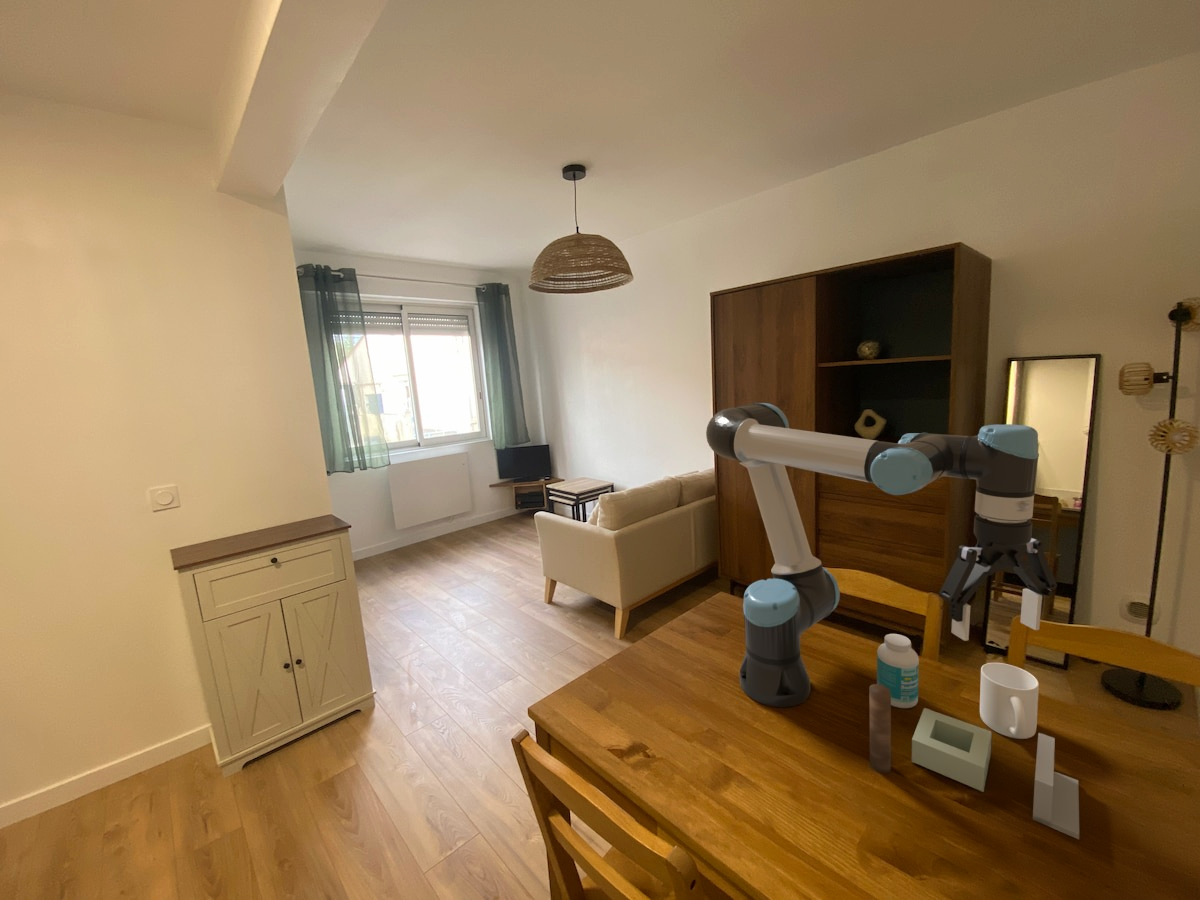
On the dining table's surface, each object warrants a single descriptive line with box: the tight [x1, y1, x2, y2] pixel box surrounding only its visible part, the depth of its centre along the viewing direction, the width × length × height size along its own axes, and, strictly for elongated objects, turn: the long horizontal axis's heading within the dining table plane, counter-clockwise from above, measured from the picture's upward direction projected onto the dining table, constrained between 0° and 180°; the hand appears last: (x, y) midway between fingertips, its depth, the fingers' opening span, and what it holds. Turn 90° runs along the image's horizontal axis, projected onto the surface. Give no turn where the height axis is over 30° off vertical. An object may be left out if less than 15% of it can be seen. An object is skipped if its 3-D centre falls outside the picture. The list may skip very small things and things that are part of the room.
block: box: [911, 707, 992, 793], centre depth 84 cm, size 10×10×4 cm
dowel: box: [868, 683, 892, 775], centre depth 83 cm, size 3×3×15 cm
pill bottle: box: [876, 633, 920, 709], centre depth 100 cm, size 8×7×14 cm
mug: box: [979, 662, 1040, 740], centre depth 89 cm, size 12×8×10 cm
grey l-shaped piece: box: [1032, 732, 1080, 840], centre depth 75 cm, size 5×12×7 cm, turn 136°
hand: (994, 631), depth 84 cm, fingers open, 13 cm apart
